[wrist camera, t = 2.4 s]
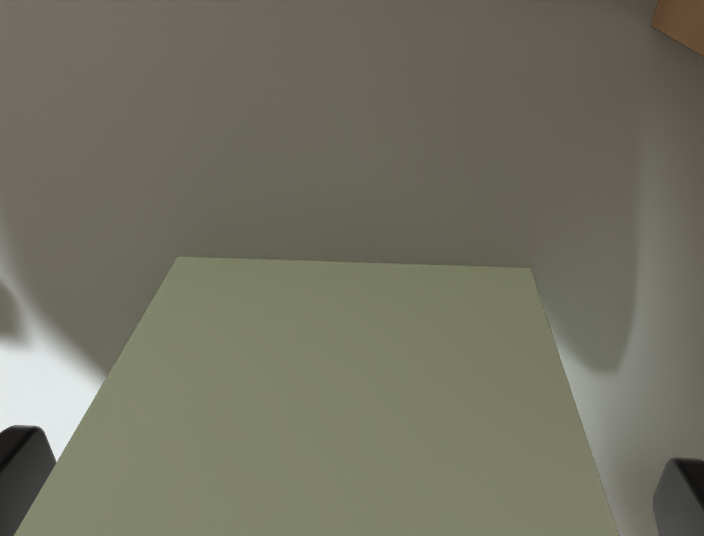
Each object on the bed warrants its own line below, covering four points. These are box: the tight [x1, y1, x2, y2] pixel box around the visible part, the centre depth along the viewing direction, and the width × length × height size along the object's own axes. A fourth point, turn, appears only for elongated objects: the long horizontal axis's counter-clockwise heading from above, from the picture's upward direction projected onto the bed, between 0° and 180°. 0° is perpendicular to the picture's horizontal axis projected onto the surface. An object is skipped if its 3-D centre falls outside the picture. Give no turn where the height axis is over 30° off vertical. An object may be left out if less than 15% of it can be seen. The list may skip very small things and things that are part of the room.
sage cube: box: [14, 256, 619, 536], centre depth 8 cm, size 5×5×5 cm
